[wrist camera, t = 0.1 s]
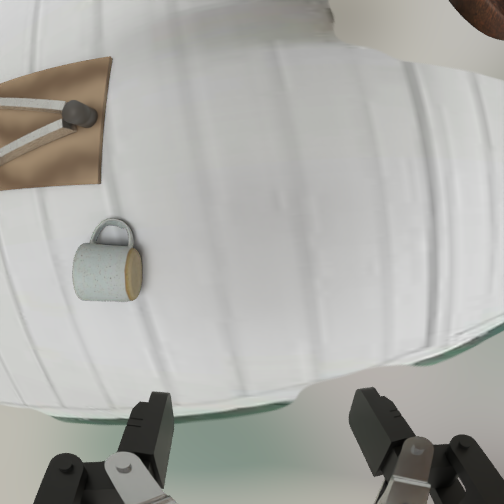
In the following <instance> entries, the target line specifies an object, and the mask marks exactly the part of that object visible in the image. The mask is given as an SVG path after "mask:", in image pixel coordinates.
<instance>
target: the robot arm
mask: <svg viewBox="0 0 504 504" xmlns="http://www.w3.org/2000/svg"><path fill="white" fill-rule="evenodd" d="M349 424H350V427H351V429H352V431H353V434H354V436H355V438H356V440H357V442H358V444H359V446H360V448H361V450H362V453H363V455H364V457H365V459H366V461H367V463H368V465H369V468H370V470H371V472H372V474H373V476H374V477H375V476H380V475H384V477H385V479H384V481H383V483H382V485H381V488H380V490H379V493H378V495H377V497H376V500H375V502H374V504H427V500H428V496H429V493H430V495H431V497H432V499H433V501H434V503H435V504H504V480H503V478H502V477H501V476H500V474H499V473H498V471H497V470H496V468H495V467H494V466H493V464H492V463H491V461H490V460H489V459H488V457H487V456H486V454H485V453H484V452H483V450H482V449H481V448H480V446H479V445H478V444H477V442H476V441H475V440H474V439H473V438H472V437H470V436H467V435H457V436H455V437H453V438H452V440H451V441H450V443H449V444H443V445H442V444H441V445H433V444H432V443H431V442H430V441H429V440H428V439H426V438H424V437H419V436H416V435H415V434H414V433H413V431H412V429H411V428H410V427H409V425H408V424H407V422H406V421H405V419H404V418H403V417H402V416H401V413H400V412H399V411H398V410H397V408H396V406H395V405H394V403H393V402H392V401H391V400H389V399H388V398H386V397H385V396H381V397H380V395H379V394H378V392H377V391H376V389H375V388H374V387H370V388H362V389H357V390H356V393H355V396H354V399H353V403H352V406H351V410H350V413H349ZM173 432H174V416H173V409H172V402H171V395H170V393H164V392H152V393H151V396H150V399H149V402H139V403H138V404H137V405H136V406H135V407H134V408H133V409H132V412H131V414H130V417H129V420H128V422H127V426H126V428H125V431H124V434H123V436H122V439H121V442H120V445H119V448H118V451H117V452H116V453H114V454H112V455H110V456H109V457H108V458H107V459H106V461H102V462H86V463H83V462H82V461H81V459H80V458H79V457H77V456H76V455H74V454H70V453H62V454H59V455H56V456H55V457H54V458H52V460H51V461H50V463H49V466H48V468H47V470H46V473H45V475H44V478H43V480H42V483H41V485H40V488H39V490H38V493H37V495H36V498H35V500H34V503H33V504H177V503H176V501H175V500H174V499H173V498H172V497H171V496H167V495H166V494H165V493H164V492H163V490H162V489H164V483H165V477H166V472H167V465H168V460H169V454H170V449H171V443H172V437H173ZM458 477H459V478H460V480H461V481H462V483H463V485H464V486H465V489H466V492H465V490H464V489H463V487H462V485H461V484H460V482H459V480H458Z"/></svg>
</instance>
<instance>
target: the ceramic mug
mask: <svg viewBox="0 0 504 504" xmlns="http://www.w3.org/2000/svg"><path fill="white" fill-rule="evenodd" d="M108 225H113V226H119V227H120V228H126V230H127V233H128V240H129V241H128V246H117V245H104V244H96V240H97V238H98V235H99V233H100V231H101V230H102V229H103V228H104V227H105V226H108ZM72 278H73V285H74V290H75V292H76V295H77V296H78V298H79V299H81V300H83V301H115V302H127V301H133V300H135V299H136V298H137V297H138V295H139V293H140V289H141V283H142V263H141V258H140V254H139V253H138V251H137V250H136V249H134V248H133V234H132V231H131V229H130V228H129V226H128V225H127V224H126V223H124V222H123V221H121V220H118V219H106V220H104V221H102V222H101V223H100V224H99V225H98V226H97V227H96V229H95V230H94V232H93V235H92V237H91V240H90V243H83V244H82V245H80V246H79V248H78V250H77V251H76V254H75V257H74V262H73V270H72Z"/></svg>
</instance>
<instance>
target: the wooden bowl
mask: <svg viewBox="0 0 504 504" xmlns="http://www.w3.org/2000/svg"><path fill="white" fill-rule="evenodd" d="M449 1H450V3H451V4H452V5H453V7H454V8H455V9H456V10H457V11H458V12H459V13H460V14H461V15H462V17H463V18H464V19H465V20H467V21H468V22H469V23H470V24H471V25H472V26H473V27H475V28H476V29H477V30H479V31H480V32H482V33H484V34H485V35H487V36H489V37H492V38H495V39H499V40H504V0H449Z"/></svg>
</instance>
